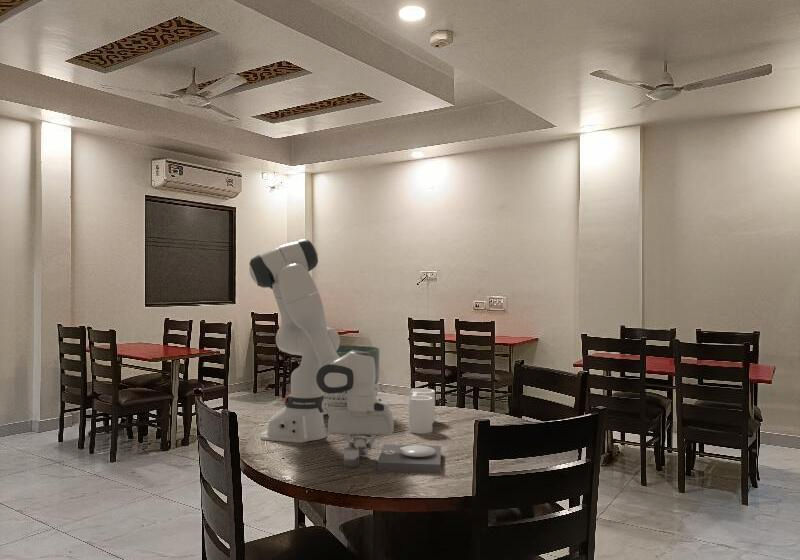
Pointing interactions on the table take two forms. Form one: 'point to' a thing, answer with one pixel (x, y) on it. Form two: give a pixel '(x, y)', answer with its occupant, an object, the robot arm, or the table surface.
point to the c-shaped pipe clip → (421, 410)
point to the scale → (410, 459)
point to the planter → (342, 396)
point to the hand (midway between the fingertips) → (360, 448)
